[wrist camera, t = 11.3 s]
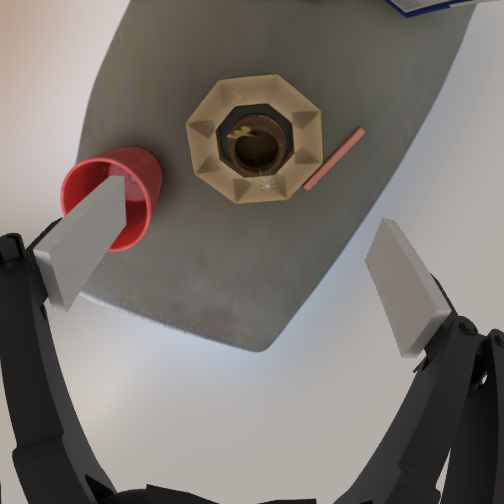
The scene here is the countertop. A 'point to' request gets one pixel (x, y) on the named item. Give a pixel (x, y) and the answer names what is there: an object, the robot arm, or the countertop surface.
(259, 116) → the utensil holder
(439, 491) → the robot arm
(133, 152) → the flower pot
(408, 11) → the milk carton
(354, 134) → the pink stick
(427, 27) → the countertop surface
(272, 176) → the octagonal ring
